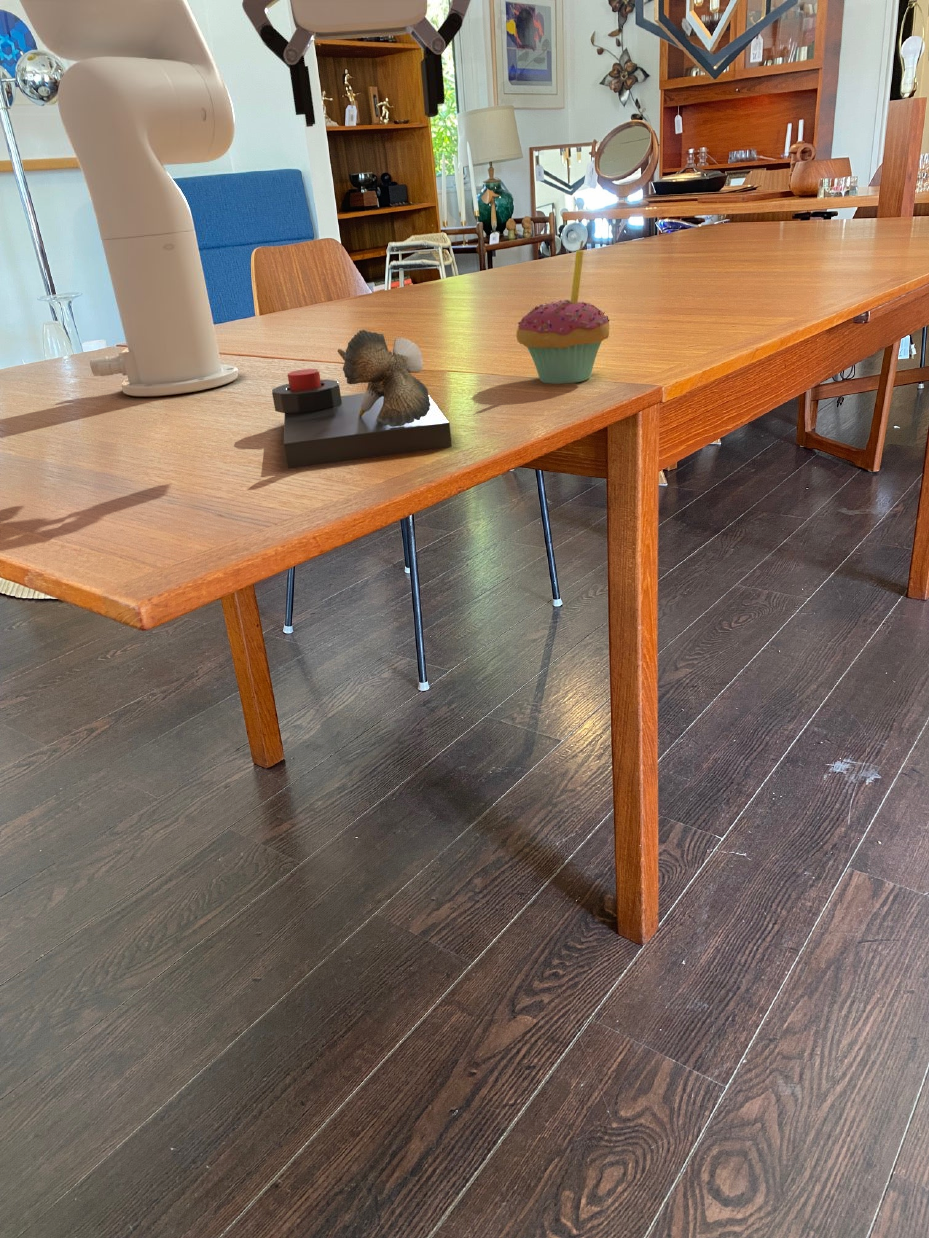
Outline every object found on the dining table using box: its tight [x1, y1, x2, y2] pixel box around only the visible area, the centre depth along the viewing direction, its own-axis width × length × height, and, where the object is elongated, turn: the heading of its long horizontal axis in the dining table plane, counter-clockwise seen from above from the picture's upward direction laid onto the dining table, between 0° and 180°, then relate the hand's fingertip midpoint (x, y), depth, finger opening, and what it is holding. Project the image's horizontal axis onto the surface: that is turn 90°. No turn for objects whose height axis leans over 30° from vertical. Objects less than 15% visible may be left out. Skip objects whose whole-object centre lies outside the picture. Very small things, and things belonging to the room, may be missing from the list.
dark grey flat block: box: [271, 379, 453, 469], centre depth 72 cm, size 13×15×4 cm
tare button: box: [286, 368, 322, 391], centre depth 75 cm, size 3×3×2 cm
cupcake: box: [516, 240, 610, 385], centre depth 83 cm, size 9×8×12 cm
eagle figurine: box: [337, 329, 431, 427], centre depth 69 cm, size 8×7×9 cm
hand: (371, 120), depth 72 cm, fingers open, 9 cm apart
